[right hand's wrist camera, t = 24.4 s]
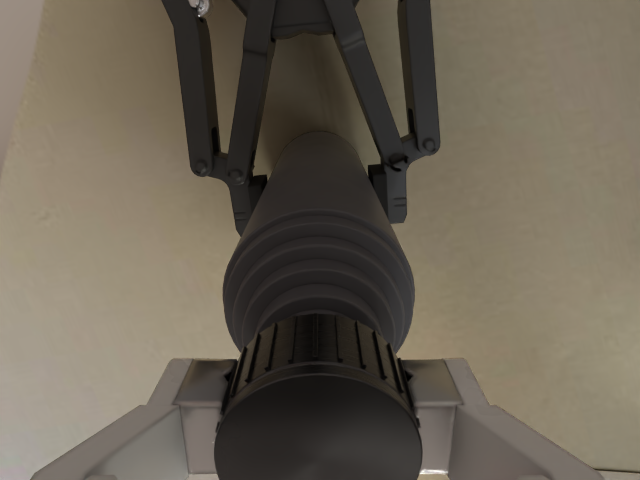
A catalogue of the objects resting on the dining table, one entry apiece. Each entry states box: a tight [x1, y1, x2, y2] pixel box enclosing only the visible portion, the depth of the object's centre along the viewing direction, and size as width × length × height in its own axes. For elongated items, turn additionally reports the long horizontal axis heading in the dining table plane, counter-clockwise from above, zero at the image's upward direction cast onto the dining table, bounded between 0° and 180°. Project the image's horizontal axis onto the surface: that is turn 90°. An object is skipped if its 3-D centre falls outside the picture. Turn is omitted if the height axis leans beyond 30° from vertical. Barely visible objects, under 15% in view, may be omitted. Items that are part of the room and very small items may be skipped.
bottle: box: [223, 131, 415, 354], centre depth 20 cm, size 6×6×24 cm
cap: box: [214, 313, 423, 480], centre depth 9 cm, size 4×4×2 cm
